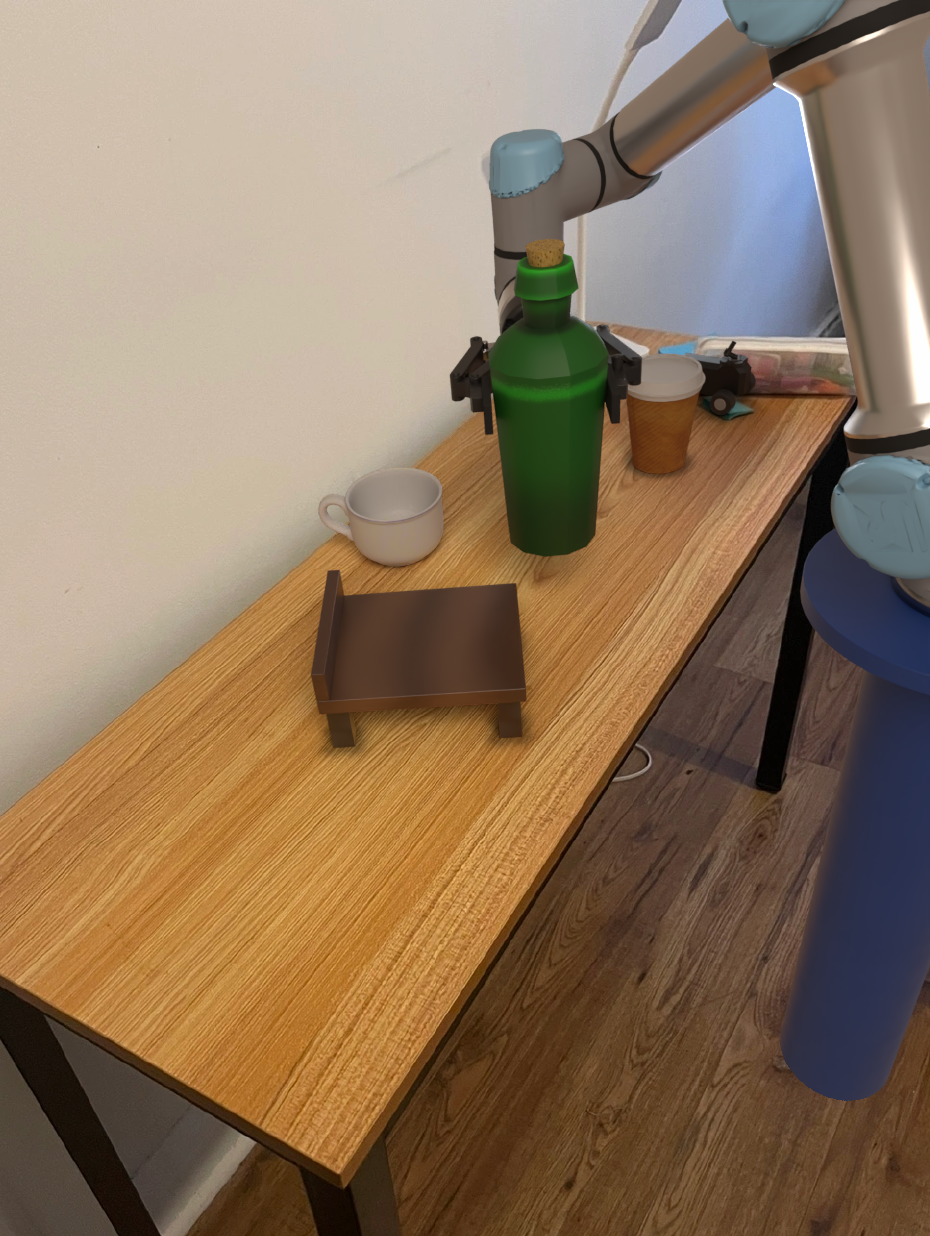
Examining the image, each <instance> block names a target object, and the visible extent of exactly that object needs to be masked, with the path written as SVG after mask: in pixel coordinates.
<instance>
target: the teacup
mask: <svg viewBox="0 0 930 1236" xmlns="http://www.w3.org/2000/svg"><path fill="white" fill-rule="evenodd" d="M443 504H444V503H443V485H442V483H441V481H440V479H439V478H437V477H436V476H435V474H432V473H431V472H429V471H426V470H423V469H420V468H418V467H409V466H393V467H392V466H391V467H385V468H381V469H377V470H374V471H371V472H368V473H366V474H363V475H362V476H360V477H358V479H356V480H355V481H354V482H352V483H351V484H350V486H349V487H348V488H347V490H346V491H345V496H344V495H343V494H342V495H341V494H339V493H329V494H327V495H325V496H324V497H322V499H321V500H320V501H319V503H318V508H317V512H318V517H319V519H320V521H321V522H322V524H323V525H324V526H325V527H326V528H328V529H330V530H331V531H334V532H335V533H338V534H340V535H342V536H345V537H346V538H347V539H348V540H349V541H351V542H354V545H355V547H356V548H357V550H358V551H359V552H360V553H361V554H362V556H363V557H365V558H366V559H368V560H370V561H373V562H375V563H378V564H379V565H383V566H387V567H405V566H409V565H413V564H416V563H418V562H420V561H421V560H423V559H424V558H425V557H426V556H428V555H429V554H431V553H432V552H433V551H434V550H435V549H436V548H437V547H438V546H439V544H440V542H441V540H442V537H443V533H444V525H445V524H444V522H445V521H444V505H443ZM329 506H338V507H339V508H340V509H341V510H342V511H343V513H344V514H345V516H346V517H347V518H348V522H349V524H346V523H342V522H341V521H338V520H337V519H335V518H333V516H331V515H330V513H329V512H328V507H329Z"/></svg>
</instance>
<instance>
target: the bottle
mask: <svg viewBox="0 0 930 1236" xmlns="http://www.w3.org/2000/svg"><path fill="white" fill-rule="evenodd" d="M565 246H566V244H565V240H563V241H561V240H558V239H543V240H537V241H533V242H530V243H528V244H527V245H526V246H525V247H526V252H527V257H524V258H523V259H521V260H520V261H519V262H518V264H517V271H516V278H515V284H514V293H515V295H516V296H518V297H521V301H522V309H523V317H524V318H521V319H520V320H519V321H517V322H516V323H515V324H513V325H512V326H511V327H509V328H508V329H507V330H506V331H505V332H504V333H502V334H501V335H500V334H499V335H498V337H497V338H496V340H495V341H494V342H495V343H494V345H493V347H492V349H491V350H490V352H489V354H488V357H489V366H490V374H491V383H492V391H493V393H492V400H493V406H494V407H493V408H494V416H495V424H496V433H497V442H498V449H499V458H500V468H501V476H502V484H503V492H504V500H505V510H506V518H507V526H508V534H509V540H510V544H511V545H512V546H513V547H515V548H517V549H518V550H520V551H521V552H522V553H525V554H530V555H535V556H539V557H544V558H549V557H558V556H567V555H570V554H573V553H576V552H577V551H580V550H582V549H584V548H587V547H588V545H589V544H590V543H591V542H592V540H594V538H595V536H596V531H597V517H598V503H599V489H600V479H601V478H600V477H601V462H602V449H603V436H604V422H605V409H606V408H605V407H606V403H605V397H606V383H607V369H608V356H609V354H608V351H607V349H606V346H605V344H604V342H603V340H602V339H601V337H600V336H599V334H598V333H597V331H596V327H594V326H593V325H591V324H590V323H588V322H586V321H584V320H583V319H581V318H579V317H577V316H575V315H573V314H571V315H570V311H571V309H572V308H571V307H572V297H573V294H574V293H575V292H576V291H577V290H579V283H578V278H577V273H576V268H575V262H574V258H573V257H572V256H571V255H569V254H566V253H565Z"/></svg>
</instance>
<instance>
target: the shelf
mask: <svg viewBox="0 0 930 1236" xmlns="http://www.w3.org/2000/svg"><path fill="white" fill-rule="evenodd" d="M520 619H521V618H520V609H519V597H518V587H517V583H516V582H509V583H497V584H496V583H495V584H483V585H469V586H455V587H440V588H427V589H414V590H401V591H400V590H399V591H386V592H385V591H384V592H374V593H373V592H372V593H371V592H370V593H359V594H358V593H357V594H345V591H344V585H343V581H342V574H341V570H340V569H329V570H327V572H326V578H325V585H324V590H323V597H322V603H321V609H320V616H319V622H318V629H317V634H316V635H317V636H316V640H315V647H314V652H313V658H312V665H311V671H310V678H311V682H312V687H313V693H314V697H315V702H316V706H317V710H318V713H319V715H325V716H326V720H327V724H328V729H329V734H330V738H331V743H332V748H333V749H337V748H338V749H339V748H352V747H353V748H354V747H356V741H357V727H356V722H355V717H354V713H364V712H366V713H367V712H380V711H381V712H382V711H396V710H397V711H398V710H411V709H412V710H413V709H415V710H416V709H427V708H429V709H430V708H447V707H460V706H461V707H462V706H478V705H493V704H494V705H495V704H496V705H497V717H498V718H497V719H498V731H499V733H498V735H499V739H504V738H505V739H507V738H508V739H510V738H522V737H523V723H522V703H525V702H527V701H528V700H527V684H526V682H527V681H526V674H525V662H524V651H523V640H522V632H521V631H522V630H521V620H520Z"/></svg>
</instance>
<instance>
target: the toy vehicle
mask: <svg viewBox="0 0 930 1236" xmlns="http://www.w3.org/2000/svg"><path fill="white" fill-rule="evenodd" d="M736 345H737V342H736V341H735V340H731V342H730V344H729V345H728V347H726V348H725V349H724V351H723V356H722V357H718V356H711V355H704V354H700V353H699V354H698V353H691V352H685V353H684V354H683V355H685V356H688V357H691V358H694V359H695V360H697V361H699V363H700V364H701V366H702V371H703V373H704V375H705V383H704V384H703V386H702V388H701V390H700V392H699V395H704V396H711V397H710V399H709V408H710V410H711V411H712V412H713V414H715V415H718V416H725V415H727V414H728V413H730V412H731V410H733V408H734V407H735V405H736V402H737V401H736V398H738V397H740V396H745V395H747V394H749V393H750V392H751V391H752V390H753V389H754V387H755V385H756V383H757V379H756V376H755V374H754V373H753V372H752V368H753V367H752V366H751V365H750V363H749V362H748V361H749V357H747V356H746V355H745V354H741V353H740V354H738V353H734V352H733V350H734V348H735V346H736Z"/></svg>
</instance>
